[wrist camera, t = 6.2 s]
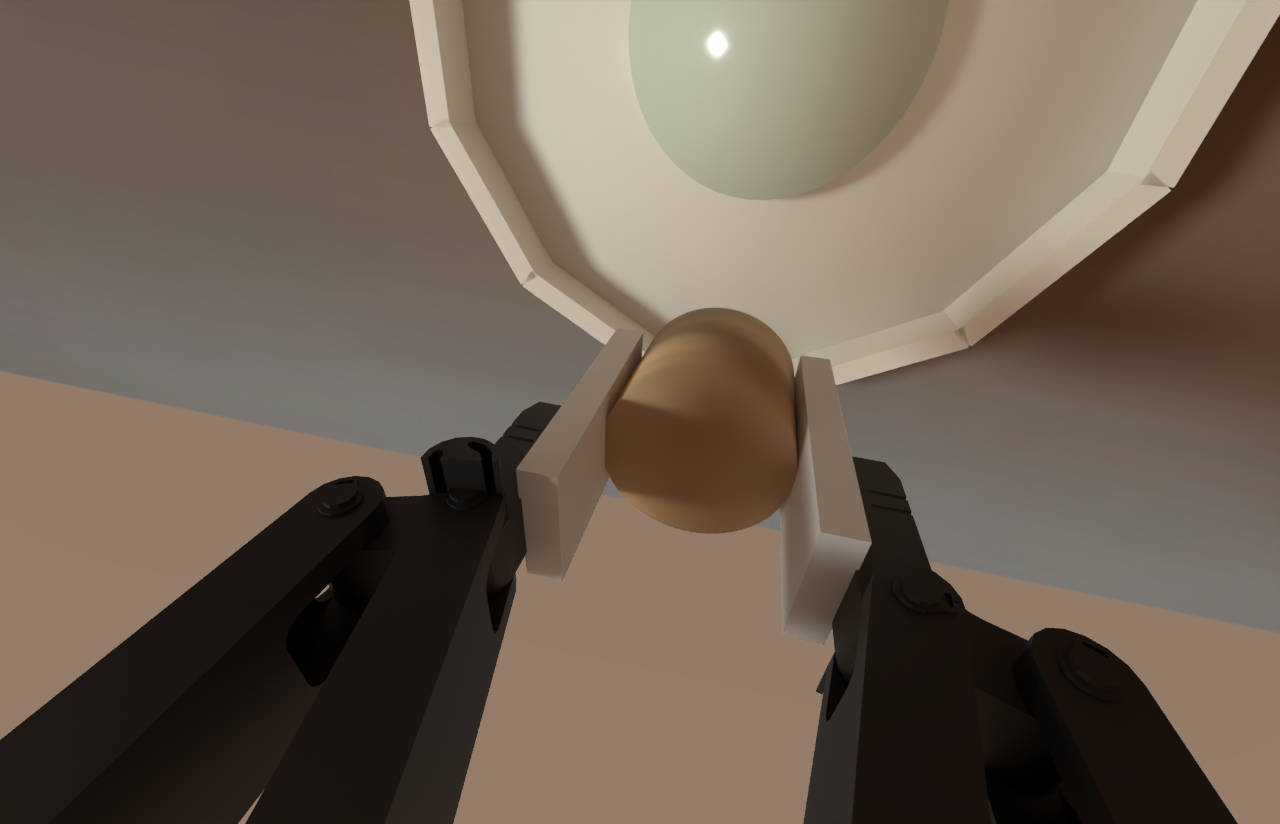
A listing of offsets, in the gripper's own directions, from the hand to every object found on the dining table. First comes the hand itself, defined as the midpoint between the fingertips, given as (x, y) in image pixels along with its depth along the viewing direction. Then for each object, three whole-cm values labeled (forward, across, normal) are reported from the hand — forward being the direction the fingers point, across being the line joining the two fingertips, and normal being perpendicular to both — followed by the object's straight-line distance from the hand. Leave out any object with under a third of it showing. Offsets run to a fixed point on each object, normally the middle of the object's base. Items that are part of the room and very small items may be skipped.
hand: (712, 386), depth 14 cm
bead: (0, 0, 0) cm, 0 cm away
